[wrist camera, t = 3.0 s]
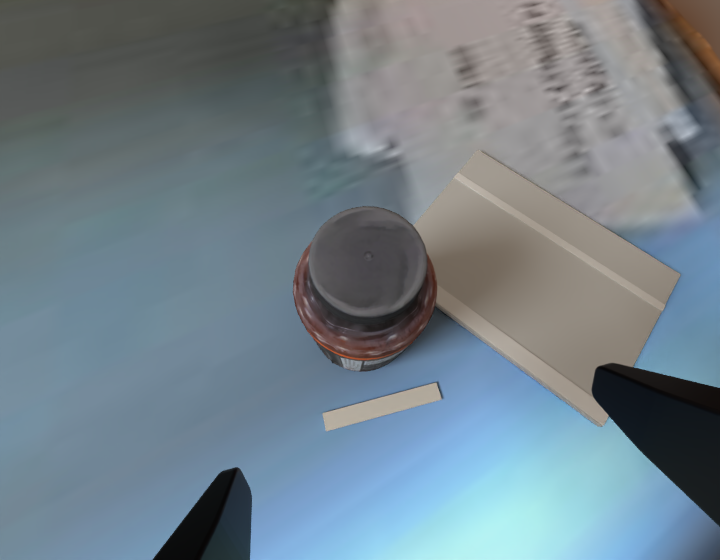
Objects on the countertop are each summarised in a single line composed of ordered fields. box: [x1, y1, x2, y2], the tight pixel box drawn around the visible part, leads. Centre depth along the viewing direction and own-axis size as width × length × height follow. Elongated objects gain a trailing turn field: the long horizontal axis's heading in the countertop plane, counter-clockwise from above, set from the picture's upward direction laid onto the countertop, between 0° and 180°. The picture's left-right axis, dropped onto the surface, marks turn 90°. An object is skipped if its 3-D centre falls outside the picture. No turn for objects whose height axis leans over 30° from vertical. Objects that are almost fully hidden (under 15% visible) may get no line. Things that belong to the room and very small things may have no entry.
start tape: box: [323, 383, 442, 431], centre depth 20 cm, size 1×7×1 cm, turn 104°
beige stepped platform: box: [414, 150, 681, 427], centre depth 23 cm, size 16×12×1 cm
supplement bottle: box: [293, 206, 437, 372], centre depth 17 cm, size 6×6×11 cm
